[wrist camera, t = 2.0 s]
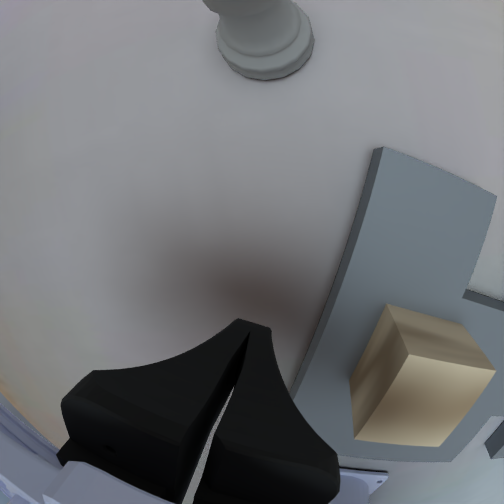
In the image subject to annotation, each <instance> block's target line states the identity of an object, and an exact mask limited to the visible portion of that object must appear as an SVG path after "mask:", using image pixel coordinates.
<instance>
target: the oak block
mask: <svg viewBox="0 0 504 504" xmlns="http://www.w3.org/2000/svg"><path fill="white" fill-rule="evenodd" d="M495 372H496V369H495V368H494V367H493V365H492V364H491V362H490V361H489V360H488V358H487V357H486V355H485V354H484V353H483V351H482V350H481V349H480V347H479V346H478V344H477V343H476V342H475V340H474V339H473V338H472V337H471V335H470V334H469V333H468V331H467V330H466V329H465V328H464V326H463V325H462V324H459V323H456V322H452V321H448V320H444V319H441V318H437V317H433V316H430V315H426V314H422V313H419V312H415V311H411V310H408V309H404V308H401V307H397V306H393V305H390V304H386V305H385V308H384V310H383V312H382V314H381V317H380V319H379V321H378V323H377V326H376V328H375V330H374V332H373V334H372V336H371V338H370V340H369V343H368V345H367V347H366V349H365V351H364V353H363V355H362V357H361V359H360V361H359V363H358V364H357V366H356V368H355V370H354V372H353V374H352V376H351V378H350V380H349V385H350V395H351V406H352V417H353V431H354V439H355V440H362V441H370V442H378V443H387V444H398V445H411V446H430V447H439V446H440V445H441V444H442V443H443V442H444V440H445V439H446V438H447V437H448V436H449V435H450V434H451V432H452V431H453V430H454V429H455V428H456V426H457V425H458V424H459V423H460V421H461V420H462V419H463V418H464V416H465V415H466V414H467V412H468V411H469V410H470V409H471V407H472V406H473V405H474V403H475V402H476V400H477V399H478V398H479V396H480V395H481V393H482V392H483V391H484V389H485V388H486V386H487V385H488V383H489V382H490V380H491V379H492V377H493V376H494V374H495Z"/></svg>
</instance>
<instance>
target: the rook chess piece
mask: <svg viewBox="0 0 504 504" xmlns="http://www.w3.org/2000/svg"><path fill="white" fill-rule="evenodd" d="M203 2H204V3H205V4H206V6H207V7H208V8H209V9H210V10H211V11H213V12H216V13H218V14H219V17H220V20H219V23H218V26H217V29H216V37H217V43H218V49H219V51H220V52H221V53H222V56H223V57H224V59H225V60H226V61H227V63H228V64H229V66H230V67H231V68H232V69H233V70H235V71H237V72H239V73H240V74H242V75H244V76H245V77H249V78H255V79H261V80H269V79H275V78H281V77H285V76H287V75H288V74H290V73H292V72H294V71H296V70H298V69H299V68H301V66H302V65H303V64H304V63H305V61H306V60H307V59H308V58H309V57H310V55H311V52H312V48H313V44H314V36H313V32H312V28H311V24H310V21H309V17H308V16H307V15H306V14H305V13H304V11H303V10H302V9H301V8H300V7H299V6H298V5H297V4H296V3H295V2H293V1H291V0H203Z"/></svg>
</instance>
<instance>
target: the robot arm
mask: <svg viewBox="0 0 504 504" xmlns="http://www.w3.org/2000/svg"><path fill="white" fill-rule="evenodd" d="M271 332H272V331H271V329H270V328H269V327H265V326H262V325H259V324H255V323H252V322H249V321H245V320H242V319H239V318H238V319H236V320H234V321H233V322H232V323H231V324H230V325H229V326H227V327H226V328H225V329H223V330H222V331H221V332H219V333H218V334H216V335H215V336H213V337H212V338H210V339H209V340H207V341H206V342H204V343H202V344H200V345H198V346H197V347H195V348H193V349H191V350H189V351H187V352H185V353H182V354H180V355H178V356H175V357H173V358H170V359H167V360H163V361H160V362H157V363H153V364H149V365H144V366H139V367H133V368H126V369H114V370H93V371H92V372H91V373H89V374H88V375H87V376H85V377H84V378H83V379H82V380H81V381H80V382H79V383H78V384H77V385H76V386H75V387H74V388H73V389H72V390H71V391H70V392H69V393H68V394H67V395H66V396H65V397H64V398H63V399H62V402H61V410H62V415H63V419H64V422H65V425H66V428H67V431H68V434H69V437H70V438H69V440H68V441H67V442H66V443H65V444H64V445H63V447H62V448H61V449H60V450H59V449H58V448H56V447H55V446H53V445H52V444H51V443H49V442H48V441H46V440H45V439H44V438H42V437H41V436H40V435H38V434H37V433H36V432H34V431H33V430H32V429H31V428H29V427H28V426H27V425H26V424H24V423H23V422H22V421H21V420H19V419H18V418H17V417H16V416H15V415H13V414H12V413H11V412H10V411H9V410H8V409H7V408H5V406H3V405H2V404H1V403H0V490H1V491H2V492H3V493H4V494H5V495H6V496H7V497H8V498H9V499H10V501H9V502H8V503H7V504H182V502H183V499H184V497H185V494H186V492H187V489H188V487H189V484H190V482H191V479H192V477H193V474H194V472H195V469H196V467H197V464H198V462H199V459H200V457H201V454H202V452H203V449H204V447H205V444H206V442H207V439H208V437H209V434H210V432H211V430H212V428H213V426H214V424H215V422H216V420H217V418H218V416H219V414H220V412H221V410H222V408H223V406H224V405H225V403H226V401H227V399H228V397H229V395H230V393H231V391H232V389H233V387H234V390H233V393H232V396H231V398H230V400H229V403H228V405H227V407H226V410H225V412H224V414H223V416H222V418H221V420H220V423H219V425H218V427H217V429H216V431H215V433H214V436H213V440H212V443H211V447H210V451H209V454H208V458H207V461H206V465H205V468H204V472H203V475H202V478H201V481H200V483H199V486H198V488H197V490H196V493H195V496H194V501H193V504H369V495H370V494H372V493H373V492H374V491H375V490H376V489H377V488H378V487H379V486H381V485H382V484H383V483H384V482H385V481H386V480H387V479H388V478H389V477H388V473H383V472H369V471H358V470H349V469H341V468H339V463H338V457H337V453H336V452H335V451H334V450H333V449H332V448H331V447H330V446H329V445H328V444H327V443H326V442H325V441H324V440H323V439H322V438H321V437H320V436H319V435H318V434H317V433H316V432H315V431H314V430H313V428H312V427H311V426H310V425H309V424H308V422H307V421H306V420H305V418H304V417H303V415H302V414H301V413H300V411H299V410H298V408H297V407H296V405H295V403H294V402H293V400H292V398H291V396H290V394H289V392H288V390H287V388H286V386H285V384H284V381H283V379H282V376H281V374H280V371H279V368H278V365H277V361H276V358H275V354H274V350H273V344H272V336H271ZM234 385H235V386H234Z"/></svg>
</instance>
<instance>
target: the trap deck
mask: <svg viewBox="0 0 504 504" xmlns="http://www.w3.org/2000/svg"><path fill="white" fill-rule="evenodd" d="M496 199H497V196H496V195H494V194H492V193H490V192H488V191H486V190H484V189H482V188H480V187H478V186H476V185H474V184H472V183H470V182H468V181H466V180H464V179H462V178H460V177H457V176H455V175H453V174H451V173H449V172H446V171H444V170H442V169H440V168H437V167H435V166H433V165H430V164H428V163H425V162H423V161H420V160H418V159H415V158H413V157H410V156H408V155H405V154H403V153H400V152H397V151H394V150H392V149H389V148H386V147H381V148H377V149H374V151H373V155H372V159H371V163H370V167H369V171H368V175H367V178H366V182H365V186H364V189H363V193H362V196H361V200H360V203H359V207H358V210H357V213H356V217H355V220H354V223H353V226H352V230H351V233H350V236H349V239H348V242H347V245H346V248H345V251H344V254H343V257H342V260H341V263H340V266H339V269H338V272H337V275H336V278H335V281H334V284H333V286H332V289H331V292H330V295H329V297H328V300H327V303H326V305H325V308H324V311H323V313H322V316H321V319H320V321H319V324H318V326H317V329H316V331H315V334H314V337H313V339H312V341H311V344H310V346H309V349H308V351H307V354H306V356H305V358H304V361H303V363H302V366H301V368H300V370H299V373H298V375H297V377H296V379H295V382H294V384H293V386H292V388H291V391H290V393H289V394H290V396H291V398H292V400H293V402H294V403H295V405H296V407H297V408H298V410H299V411H300V413H301V414H302V415H303V417H304V418H305V420H306V421H307V422H308V424H309V425H310V426H311V427H312V428H313V430H314V431H315V432H316V433H317V434H318V435H319V436H320V437H321V438H322V439H323V440H324V441H325V442H326V443H327V444H328V445H329V446H330V447H331V448H332V449H333V450H334V451H335V452H336V453H337V455H343V456H350V457H358V458H367V459H377V460H389V461H405V462H451V461H452V460H453V459H454V458H455V457H456V456H457V455H458V454H459V453H460V452H461V451H462V450H463V449H464V448H465V447H466V445H467V444H468V443H469V442H470V441H471V440H472V439H473V438H474V436H475V435H476V434H477V433H478V432H479V431H480V429H481V428H482V427H483V426H484V425H485V423H486V422H487V421H488V420H489V418H490V417H491V416H504V302H502V301H499V300H496V299H493V298H491V297H488V296H485V295H482V294H479V293H476V292H473V291H470V290H467V289H466V288H467V285H468V283H469V280H470V278H471V275H472V273H473V270H474V268H475V265H476V262H477V260H478V257H479V254H480V251H481V249H482V246H483V243H484V240H485V237H486V234H487V231H488V227H489V224H490V221H491V217H492V214H493V210H494V207H495V203H496ZM386 304H390V305H393V306H397V307H401V308H404V309H408V310H411V311H415V312H419V313H422V314H426V315H430V316H433V317H437V318H441V319H444V320H448V321H452V322H456V323H459V324H462V325H463V326H464V328H465V329H466V330H467V331H468V333H469V334H470V335H471V337H472V338H473V339H474V340H475V342H476V343H477V344H478V346H479V347H480V349H481V350H482V351H483V353H484V354H485V355H486V357H487V358H488V360H489V361H490V362H491V364H492V365H493V367H494V368H495V369H496V372H495V374H494V376H493V377H492V379H491V380H490V382H489V383H488V385H487V386H486V388H485V389H484V391H483V392H482V393H481V395H480V396H479V398H478V399H477V400H476V402H475V403H474V405H473V406H472V407H471V409H470V410H469V411H468V412H467V414H466V415H465V416H464V418H463V419H462V420H461V421H460V423H459V424H458V425H457V426H456V428H455V429H454V430H453V431H452V432H451V434H450V435H449V436H448V437H447V438H446V439H445V440H444V442H443V443H442V444H441V445H440V446H439V447H430V446H411V445H398V444H387V443H378V442H370V441H362V440H355V439H354V431H353V417H352V406H351V395H350V385H349V380H350V378H351V376H352V374H353V372H354V370H355V368H356V366H357V364H358V363H359V361H360V359H361V357H362V355H363V353H364V351H365V349H366V347H367V345H368V343H369V340H370V338H371V336H372V334H373V332H374V330H375V328H376V326H377V323H378V321H379V319H380V317H381V314H382V312H383V310H384V308H385V305H386ZM485 446H486V448H487V451H488V453H489V456H490V458H491V459H497V458H504V421H503V422H502V424H501V425H500V426H499V427H498V428H497V430H496V431H495V432H494V433H493V434H492V436H491V437H490V438H489V439H488V440H487V441H486V442H485Z"/></svg>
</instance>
